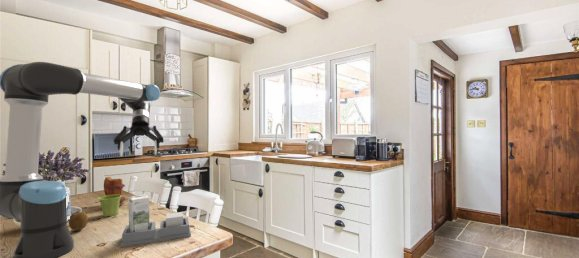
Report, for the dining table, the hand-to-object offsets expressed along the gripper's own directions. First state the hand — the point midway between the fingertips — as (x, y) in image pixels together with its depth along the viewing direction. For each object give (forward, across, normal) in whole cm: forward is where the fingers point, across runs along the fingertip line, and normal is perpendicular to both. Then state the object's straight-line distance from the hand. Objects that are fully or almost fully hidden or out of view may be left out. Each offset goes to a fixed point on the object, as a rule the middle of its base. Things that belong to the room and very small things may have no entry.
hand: (138, 153), depth 127 cm
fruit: (+23, +22, -19) cm, 37 cm away
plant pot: (+10, +14, -33) cm, 37 cm away
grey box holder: (+38, -8, -4) cm, 39 cm away
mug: (-4, +16, -46) cm, 49 cm away
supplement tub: (+11, +34, -31) cm, 48 cm away
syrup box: (+37, -2, -4) cm, 37 cm away
